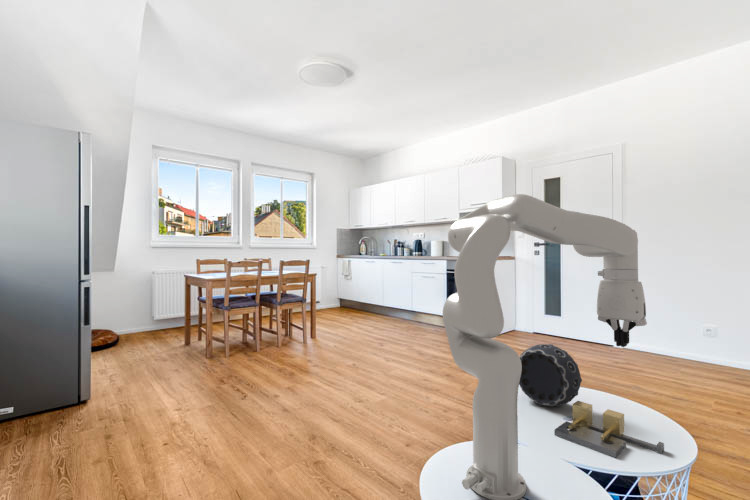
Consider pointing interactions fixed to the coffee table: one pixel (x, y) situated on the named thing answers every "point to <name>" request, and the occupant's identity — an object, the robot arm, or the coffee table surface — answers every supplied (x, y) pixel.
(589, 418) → the dividers bar
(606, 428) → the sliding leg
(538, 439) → the coffee table surface
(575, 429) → the flange plate
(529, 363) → the dark grey wheel
